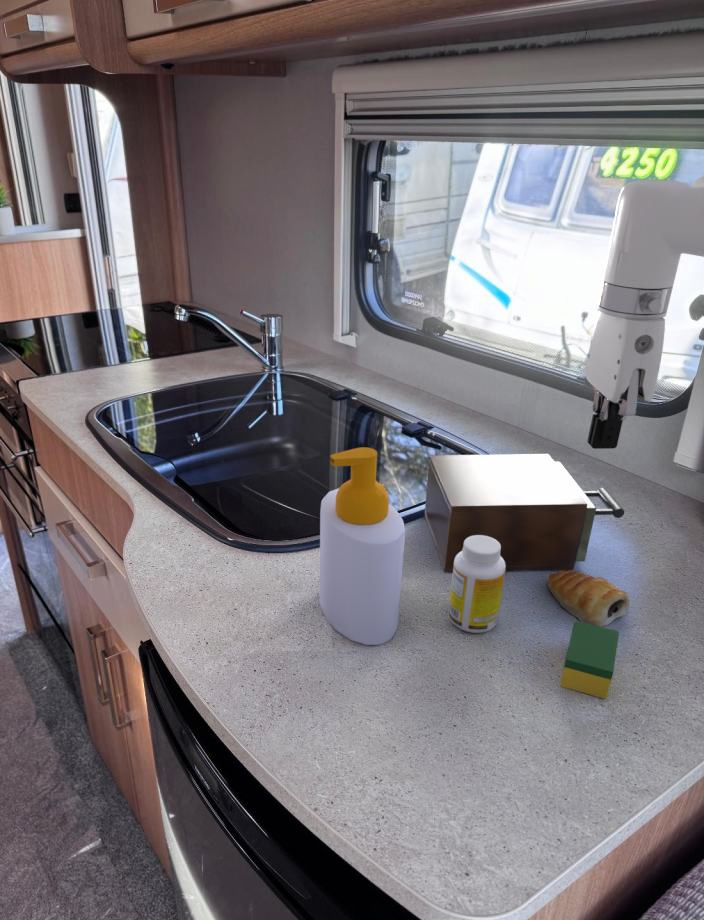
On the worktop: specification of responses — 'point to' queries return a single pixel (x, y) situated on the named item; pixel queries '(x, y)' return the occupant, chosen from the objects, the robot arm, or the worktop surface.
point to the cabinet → (505, 509)
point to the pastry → (588, 597)
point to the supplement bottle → (477, 585)
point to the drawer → (592, 512)
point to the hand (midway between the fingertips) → (601, 445)
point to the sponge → (590, 659)
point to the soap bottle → (361, 553)
